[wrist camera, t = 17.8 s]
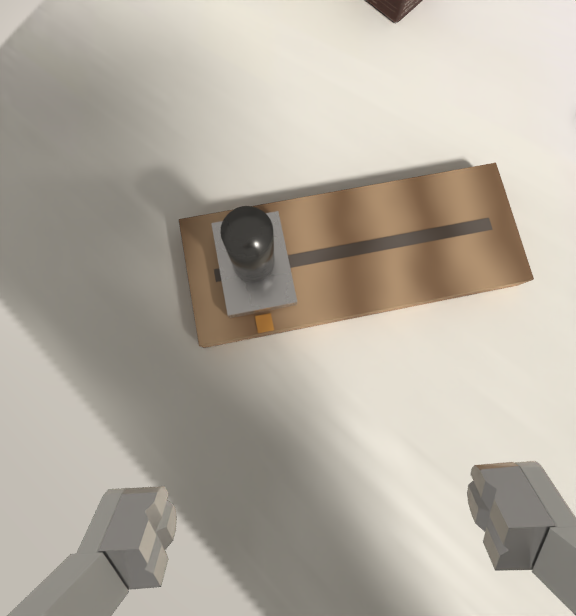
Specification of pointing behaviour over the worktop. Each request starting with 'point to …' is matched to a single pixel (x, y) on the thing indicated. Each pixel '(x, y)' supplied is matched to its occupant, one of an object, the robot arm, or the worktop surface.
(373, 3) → the box
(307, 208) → the brown wooden board
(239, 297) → the slider
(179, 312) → the worktop surface
